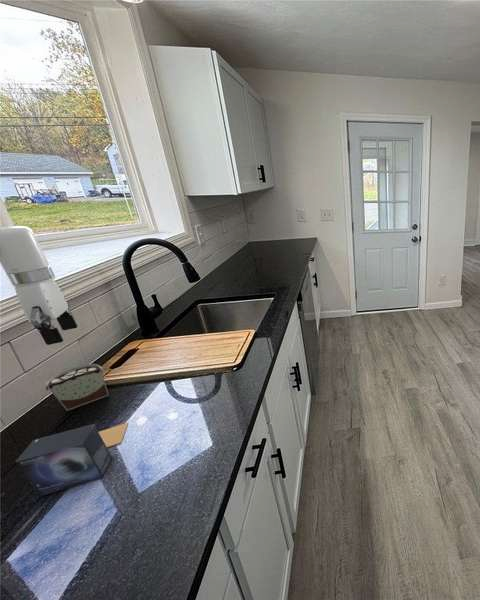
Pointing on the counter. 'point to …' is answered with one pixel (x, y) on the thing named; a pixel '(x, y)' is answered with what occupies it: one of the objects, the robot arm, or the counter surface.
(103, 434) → the cork pad
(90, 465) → the small box
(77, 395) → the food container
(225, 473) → the counter surface
